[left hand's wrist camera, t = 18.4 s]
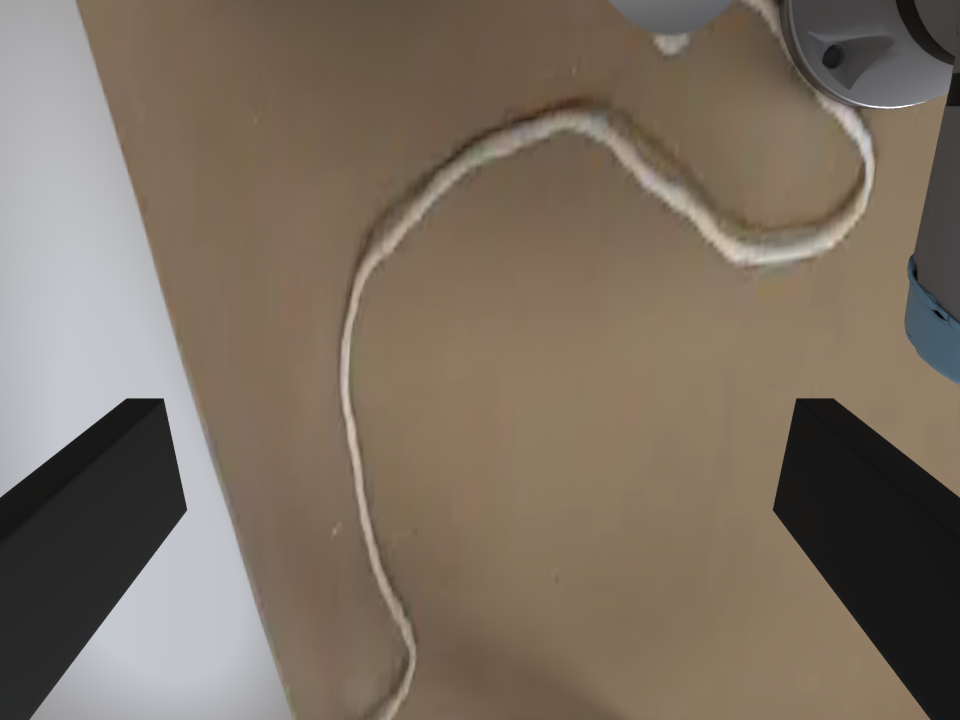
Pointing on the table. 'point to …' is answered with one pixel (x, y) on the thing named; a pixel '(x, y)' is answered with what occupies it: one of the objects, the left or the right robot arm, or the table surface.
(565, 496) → the table surface
